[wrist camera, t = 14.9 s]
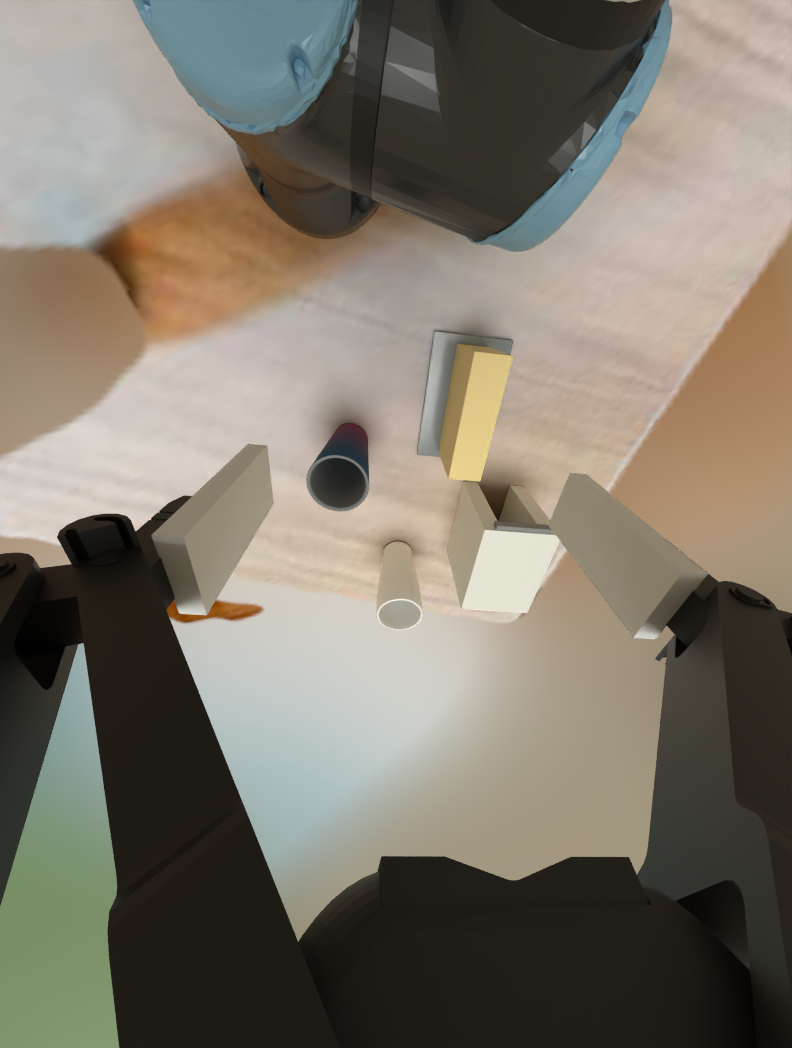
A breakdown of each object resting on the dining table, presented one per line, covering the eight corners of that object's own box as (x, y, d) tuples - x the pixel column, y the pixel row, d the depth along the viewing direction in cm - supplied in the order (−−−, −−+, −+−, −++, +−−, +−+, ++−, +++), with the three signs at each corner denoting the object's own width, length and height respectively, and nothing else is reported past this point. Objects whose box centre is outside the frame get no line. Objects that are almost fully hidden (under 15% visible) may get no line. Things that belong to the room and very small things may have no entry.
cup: (325, 416, 47) (301, 455, 34) (373, 416, 47) (367, 454, 34) (330, 462, 51) (310, 511, 38) (374, 461, 51) (370, 511, 38)
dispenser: (463, 477, 52) (485, 525, 41) (524, 483, 53) (563, 531, 41) (446, 550, 60) (461, 609, 48) (500, 554, 61) (527, 612, 49)
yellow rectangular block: (457, 343, 42) (474, 351, 33) (488, 347, 42) (513, 355, 33) (438, 450, 49) (448, 478, 41) (464, 452, 49) (480, 481, 41)
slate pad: (434, 331, 41) (435, 331, 41) (511, 340, 42) (513, 340, 42) (416, 452, 50) (417, 454, 49) (481, 458, 51) (482, 460, 50)
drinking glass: (411, 533, 58) (418, 594, 45) (419, 562, 62) (427, 626, 49) (374, 540, 59) (370, 603, 46) (383, 569, 62) (382, 634, 50)
